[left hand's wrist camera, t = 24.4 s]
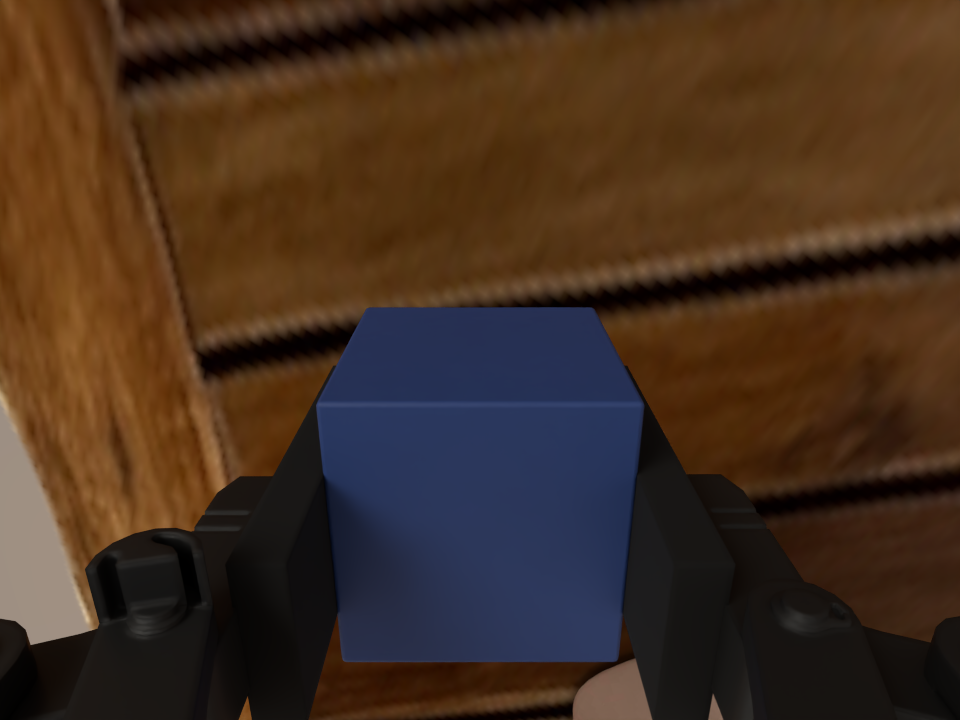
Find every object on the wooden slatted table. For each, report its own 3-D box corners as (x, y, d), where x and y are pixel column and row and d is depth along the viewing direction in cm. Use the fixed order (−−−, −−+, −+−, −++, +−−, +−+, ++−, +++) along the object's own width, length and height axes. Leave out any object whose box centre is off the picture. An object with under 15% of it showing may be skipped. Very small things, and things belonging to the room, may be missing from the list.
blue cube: (379, 507, 16) (340, 664, 11) (365, 306, 14) (314, 402, 10) (580, 507, 16) (618, 664, 11) (594, 306, 14) (646, 402, 10)
